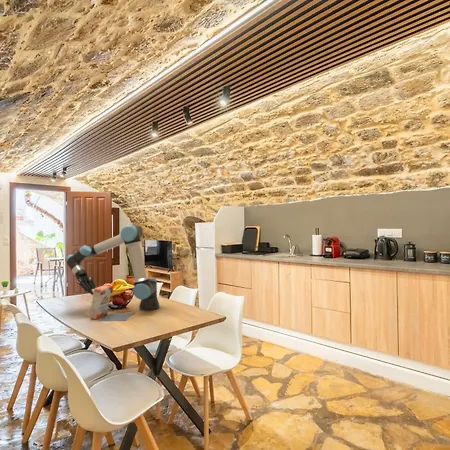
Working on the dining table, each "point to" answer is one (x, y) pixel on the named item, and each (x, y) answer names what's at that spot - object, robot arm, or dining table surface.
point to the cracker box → (100, 301)
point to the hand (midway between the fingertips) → (96, 297)
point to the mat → (116, 317)
